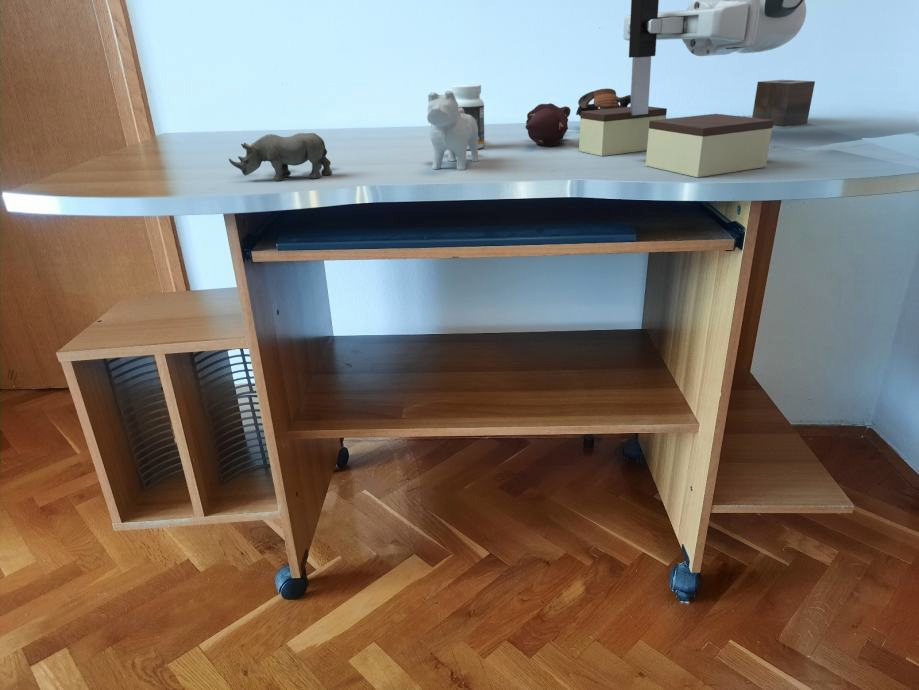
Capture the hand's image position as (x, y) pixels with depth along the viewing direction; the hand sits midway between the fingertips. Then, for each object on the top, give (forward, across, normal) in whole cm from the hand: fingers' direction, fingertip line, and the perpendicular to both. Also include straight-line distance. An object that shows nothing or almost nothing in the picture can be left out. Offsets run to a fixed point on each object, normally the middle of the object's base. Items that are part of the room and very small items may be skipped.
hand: (638, 26), depth 92 cm
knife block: (-37, -4, +18) cm, 41 cm away
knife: (-1, 0, +12) cm, 12 cm away
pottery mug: (-14, -24, +18) cm, 33 cm away
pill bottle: (+18, -20, +18) cm, 32 cm away
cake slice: (-1, -3, +18) cm, 18 cm away
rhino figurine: (+51, -12, +18) cm, 55 cm away
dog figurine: (+27, -6, +18) cm, 33 cm away
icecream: (+6, -14, +18) cm, 23 cm away
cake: (-1, +15, +18) cm, 23 cm away
